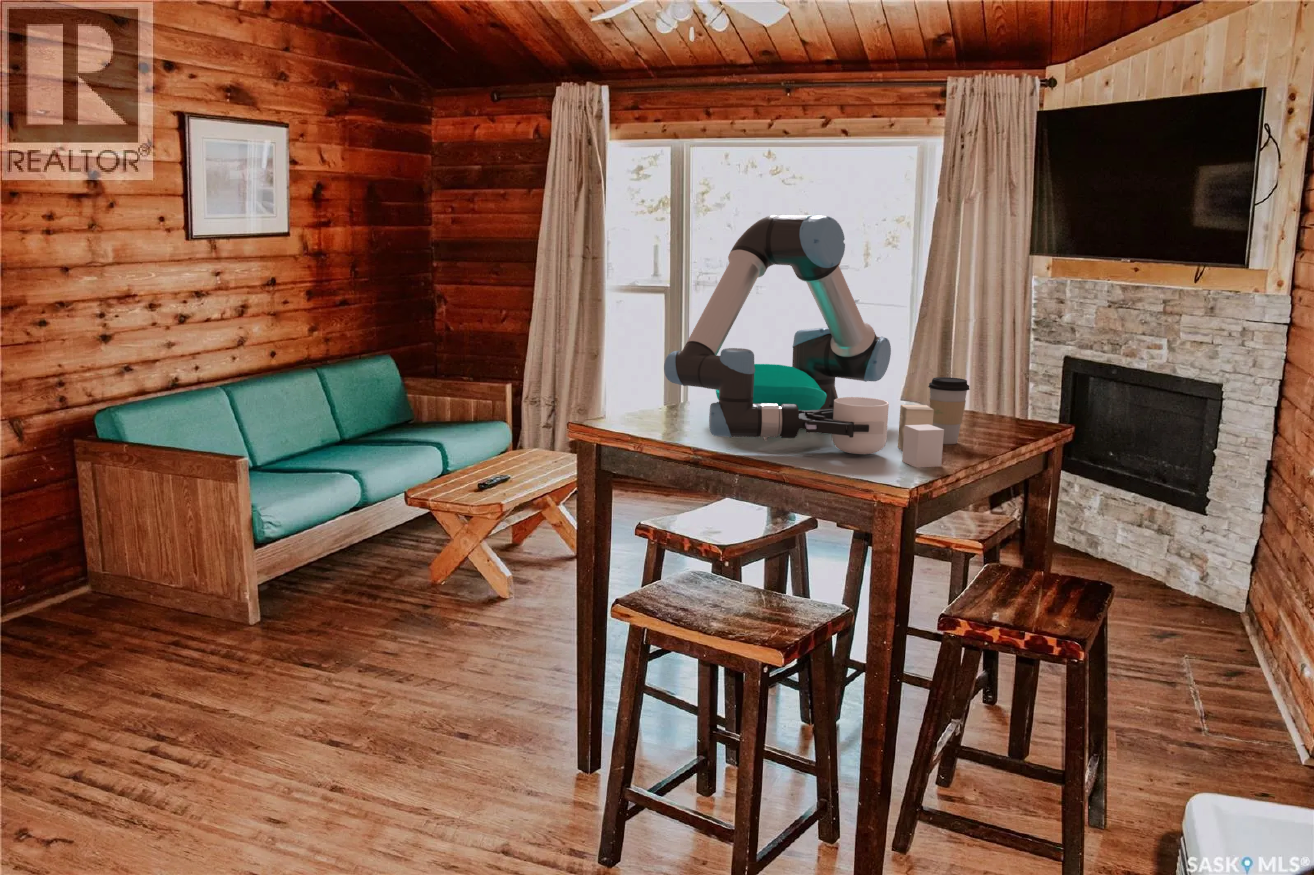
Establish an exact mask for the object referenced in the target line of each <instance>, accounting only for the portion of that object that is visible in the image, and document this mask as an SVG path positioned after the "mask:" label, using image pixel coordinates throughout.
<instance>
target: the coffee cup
mask: <svg viewBox="0 0 1314 875" xmlns="http://www.w3.org/2000/svg"><path fill="white" fill-rule="evenodd" d="M928 384H929V385H928V388H929V393H930V394H929V407H930V408H932V409H934V414H933V426H935V427H938V428H941V429H944V437H943V445H955V444H958V440H959V435H960V429H961V425H962V423H963V418H964V417H963V416H964V412H965V407H966V399H967V398H966V396H967V391H969V390H971V389H970V385H969V384H968V380H967V379H965V378H960V377H950V376H948V377H947V376H945V377H944V376H943V377H942V376H941V377H940V376H938V377H936V376H935V377H933V378H932V379H931V382H929V383H928Z"/></svg>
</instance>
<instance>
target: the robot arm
mask: <svg viewBox="0 0 1314 875" xmlns="http://www.w3.org/2000/svg"><path fill="white" fill-rule="evenodd" d="M844 241H845V234H844V231H843V228H842V225H840V223H839V222H838V221H837V220H836V219H835V218H833V217H832V216H828V215H821V214H808V215H807V214H803V215H802V214H801V215H800V214H771V215H767V216H765V217H763V218H761V219H758V220H757V221H756V222H755V223H753V224H752V225H751V226H750V227H748V228H747V230H745V232H743V233H742V234H741V235H740V236H739V238H738V239H737V241H736V242H735V243H734V245H733V246H732V248H731V250H730V252H729V254H728V256H727V260H728V262H729V263H728V265H727V266H726V268H725V270H724V272H723V274H722V276H721V278H720V279H719V281H718V283H717V286H716V287H715V288H714V291H713V293H712V295H711V296H710V299H709V301H708V302H707V304H706V306H705V307H704V309H703V312H702V313H701V314H700V317H699V318H698V321H697V323H696V324H695V327H694V328H693V330H692V332H691V333H690V336H689V338H688V340H687V342H686V343H685V345H684V347H683V348H682V350H673V351H671V352H670V353H669V354H667V356H666V357H665V359H664V365H663V372H664V375H665V377H666V379H667V380H668V381H669V382H670V383H672V384H677V385H680V386H684V387H687V386H689V387H696V388H704V389H709V390H714V391H716V390H719V400H718V401H717V402H712V403H711V404H710V405H709V416H708V423H709V424H708V425H709V433H710V435H712V436H713V437H726V438H763V440H765V441H767V440H768V439H769V438H777V437H780V438H782V439H787V438H788V439H795V438H797V436H798V434H799V430H800V429H801V430H805V432H806V433H809V434H810V433H811V434H812V433H814V434H827V435H832V434H837V435H847V436H849V437H850V438H852V437H853V435H854V434H883V431H884V421H853V422H847V421H840V420H833V411H834V400H835V399H837V398H839V397H838V392H837V390H836V378H838V379H839V378H840V379H845V380H846V379H848V380H851V381H852V380H854V381H860V382H878V381H880V380H881V379H882V378H883V377H884V376H885V375H886V372H887V371H888V368H889V365H890V360H891V356H892V355H891V354H892V348H891V341H890V340H889V338H887V337H884V336H877V334H876V332H875V330H874V327H872V326H871V324H869V323H868V322H865V321H864V320H863V318H862V315H861V313H860V310H859V309H858V306H857V304H856V302H855V300H854V297H853V295H852V293H851V290H850V288H849V285H848V283H847V281H846V278H845V277H844V274H843V272H842V269H841V266H840V265H841V263H842V259H843V257H844V254H845V250H846V243H845V242H844ZM774 265H777V266H778V265H779V266H790V267H791V269H792V270H793V272H794V275H795V277H796V278H797V279H798V280H800V281H802V282H805V283H806V284H807V287H808V289H809V291H810V292H811V295H812V297H813V299H814V301H815V303H816V305H817V307H818V310H819V311H820V313H821V315H822V318H823V320H824V322H825V324H826V326H827V327H817V328H807V329H805V328H804V329H799V330H797V331H796V332H795V333H794V336H793V344H792V366H791V367H794V368H796V369H799V370H801V371H803V372H805V373H806V374H808V375H809V376H810V377H811V378H813V379H814V380H815V381H816V383H817V384H818V385H819V387H820V388H821V389H822V390H823V391H824V392H825V393H826V395H827V397H826V400H825V403H824V405H823V406H822V407H821V408H820V409H819V410H799V409H798V406H797V405H796V404H782V405H780V406H779V405H778V404H777V403H760V404H755V403H753V391H754V372H755V368H754V364H755V354H754V351H753V350H751V349H748V348H742V347H741V348H737V347H729V348H723V349H722V350H721V348H722V346H723V344H724V342H725V341H726V338H727V336H728V335H729V333H730V331H731V329H732V327H733V326H734V324H735V321H736V320H737V317H738V316H739V314H740V312H741V311H742V309H743V307H744V304H745V303H746V301H747V298H748V297H749V294H750V293H751V291H752V289H753V286H754V285H755V284H756V281H757V280H758V278H762V277H763V276H764V275H765V273H766V271H767V270H768V268H770V267H772V266H774ZM720 350H721V351H720ZM719 352H720V354H719ZM718 354H719V355H718Z"/></svg>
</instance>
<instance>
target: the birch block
mask: <svg viewBox="0 0 1314 875" xmlns="http://www.w3.org/2000/svg"><path fill="white" fill-rule="evenodd" d="M899 408H900V410H899V419H898V420H899V422H898V434H897V435H898V436H897V448H898V449H899V450H900V451H902V452H903V441H904V427H905V425H926V424H930V425H932V426H933V414H934V409H932V408H930V405H927V404H900V407H899Z"/></svg>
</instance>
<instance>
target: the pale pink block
mask: <svg viewBox="0 0 1314 875" xmlns="http://www.w3.org/2000/svg"><path fill="white" fill-rule="evenodd" d="M943 437H944V429H941V428H938V427H935V426H932V425H930V424H926V425H905V427H904V441H903V451H902V458H901V461H902V463H905V464H908V465H910V466H912V467H914V468H930V467H931V468H933V467H935V468H936V467H942V460H943V448H944V447H943V446H944V444H943Z"/></svg>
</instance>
